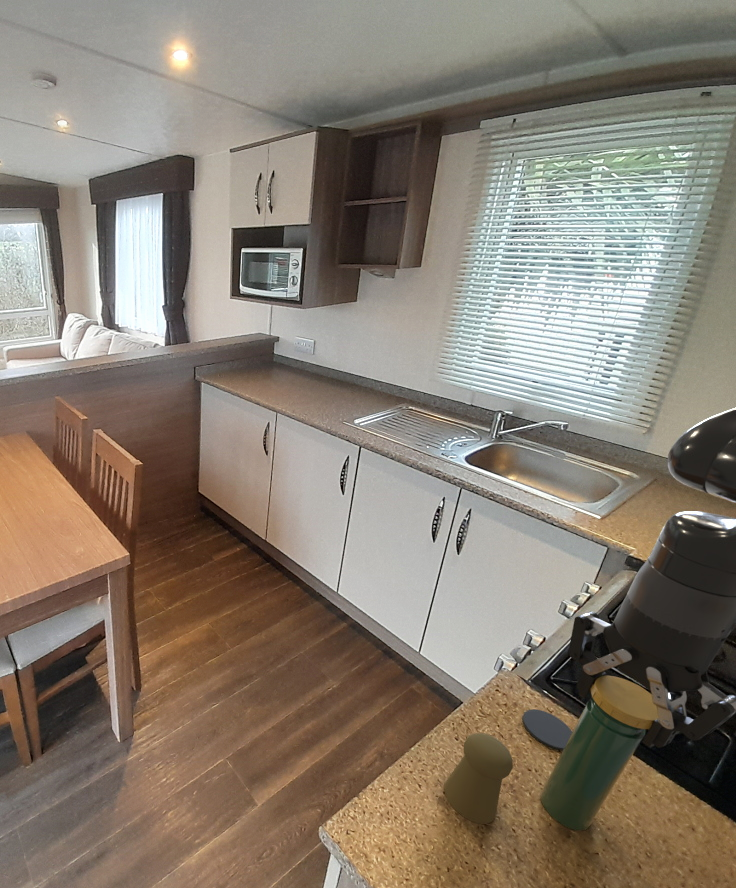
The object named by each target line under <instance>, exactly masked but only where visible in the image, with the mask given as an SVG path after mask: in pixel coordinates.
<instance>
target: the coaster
mask: <svg viewBox="0 0 736 888" xmlns="http://www.w3.org/2000/svg"><path fill="white" fill-rule="evenodd" d="M521 720H522V724H523V726H524V728H525V730H526V731H527V732H528V733H529V735H531V736H532V737H533V738H534V739H535V740H536V741H538V742H540V743H541V744H543V745H544V746H546V747H548V748H551V749H553V750H557V751H563V749H564V747H565V745H566V743H567V741H568V739H569V737H570V735H571V733H572V731H573V730H571V728H570V727H569V726H568V725H567V724H566V723H565V722H564V721H563V720H561V719H560V718H559V717H557V716H555V715H553V714H552V713H549V712H547V711H545V710H541V709H528V710H526V711H524V713H523V714H522V718H521Z"/></svg>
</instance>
